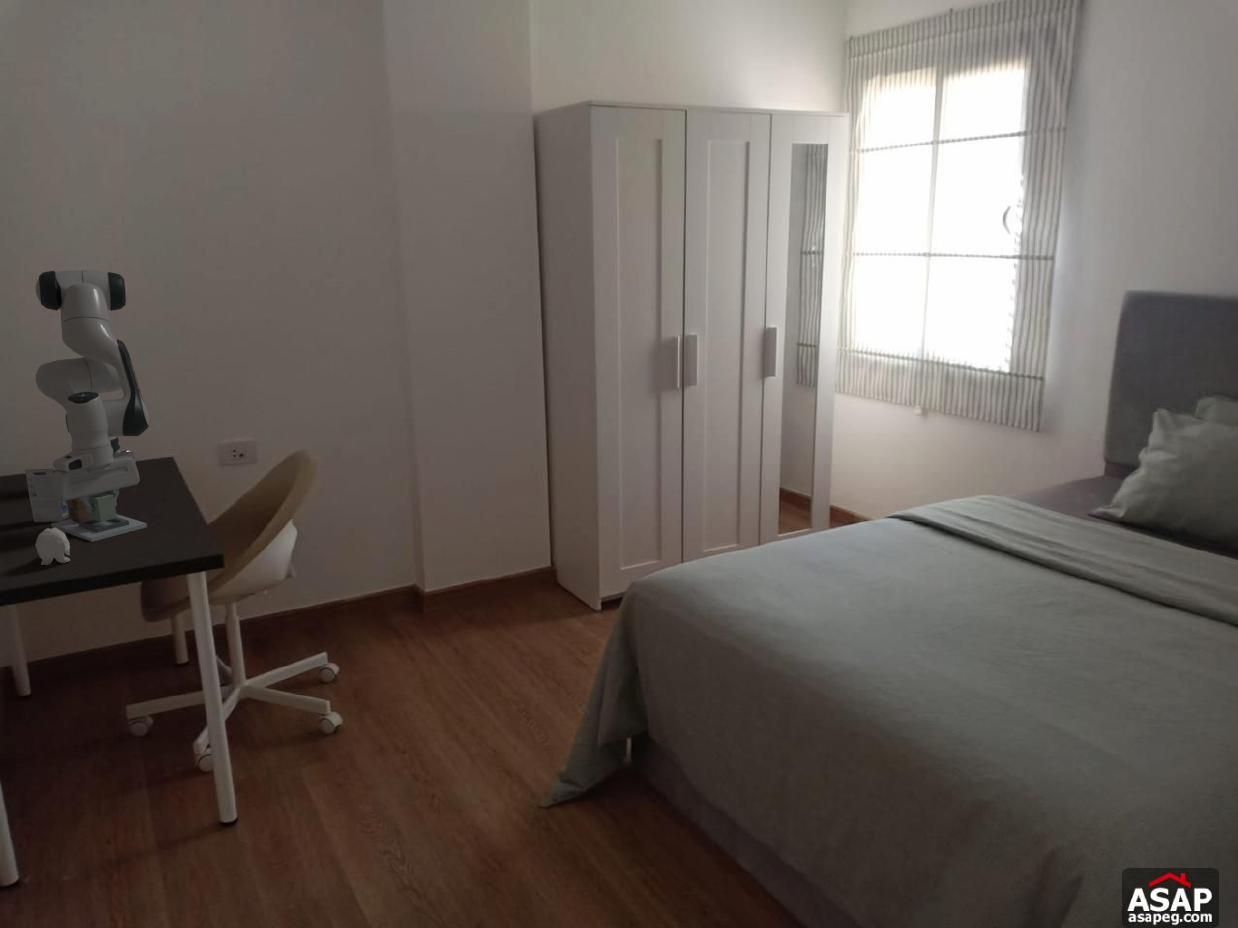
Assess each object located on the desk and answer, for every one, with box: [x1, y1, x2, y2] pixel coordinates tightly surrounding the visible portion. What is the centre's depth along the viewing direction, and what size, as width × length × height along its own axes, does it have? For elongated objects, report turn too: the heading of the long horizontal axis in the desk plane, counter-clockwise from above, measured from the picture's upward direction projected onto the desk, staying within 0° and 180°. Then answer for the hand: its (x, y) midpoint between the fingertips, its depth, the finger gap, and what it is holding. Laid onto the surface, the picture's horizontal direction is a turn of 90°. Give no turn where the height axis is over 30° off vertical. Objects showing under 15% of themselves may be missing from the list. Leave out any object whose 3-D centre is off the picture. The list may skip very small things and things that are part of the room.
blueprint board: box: [51, 498, 148, 543], centre depth 250 cm, size 22×14×7 cm, turn 53°
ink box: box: [25, 468, 71, 523], centre depth 257 cm, size 4×8×15 cm, turn 90°
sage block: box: [87, 492, 117, 522], centre depth 248 cm, size 6×4×6 cm, turn 53°
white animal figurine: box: [34, 527, 71, 566], centre depth 226 cm, size 6×8×12 cm
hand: (101, 509), depth 248 cm, fingers closed on sage block, 4 cm apart
